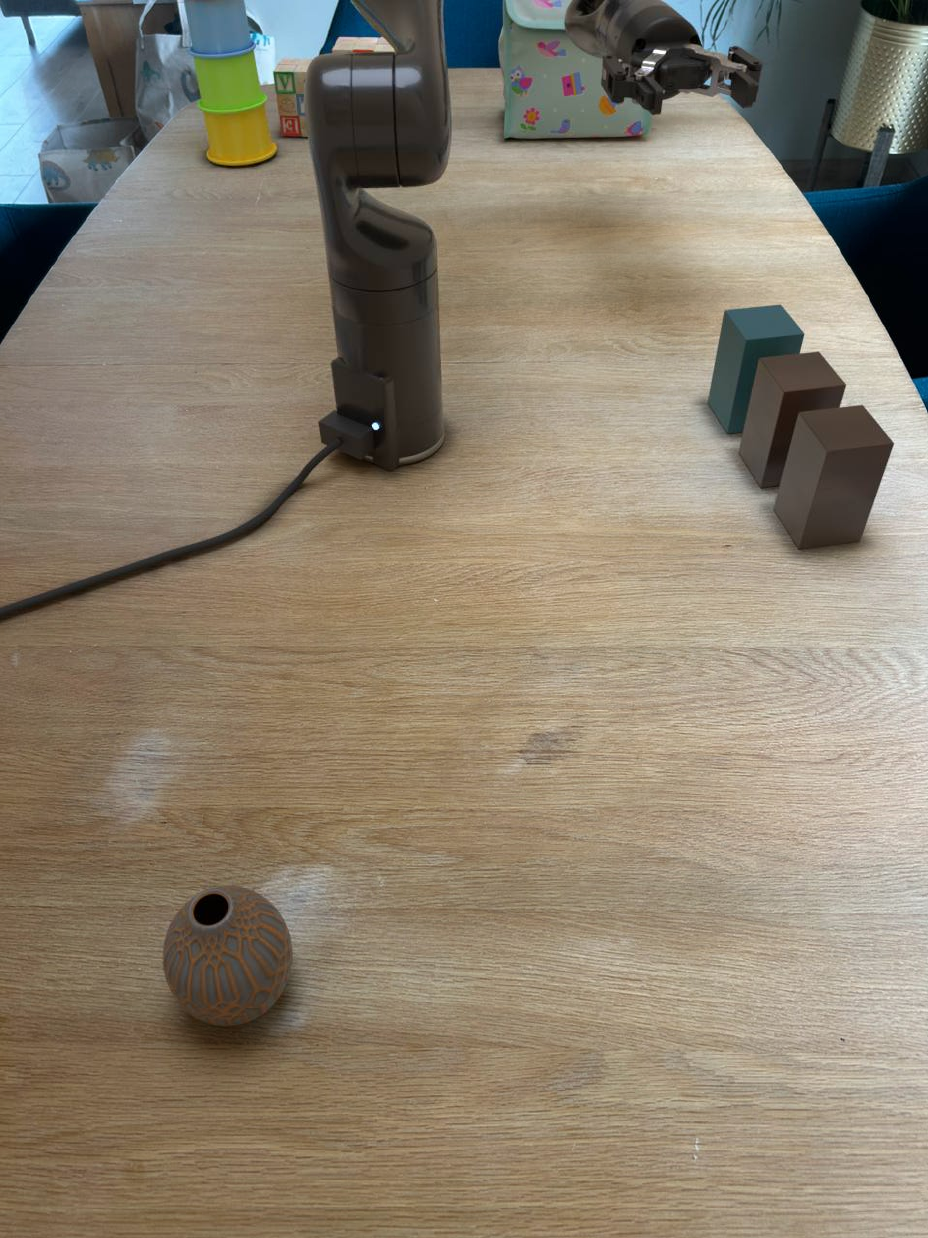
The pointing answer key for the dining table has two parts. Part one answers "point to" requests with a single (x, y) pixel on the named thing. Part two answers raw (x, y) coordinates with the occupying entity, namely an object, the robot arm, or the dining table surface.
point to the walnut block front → (832, 476)
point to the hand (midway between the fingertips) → (705, 99)
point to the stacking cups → (228, 82)
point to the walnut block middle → (784, 409)
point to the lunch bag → (556, 80)
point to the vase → (227, 955)
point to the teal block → (747, 357)
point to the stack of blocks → (293, 78)
